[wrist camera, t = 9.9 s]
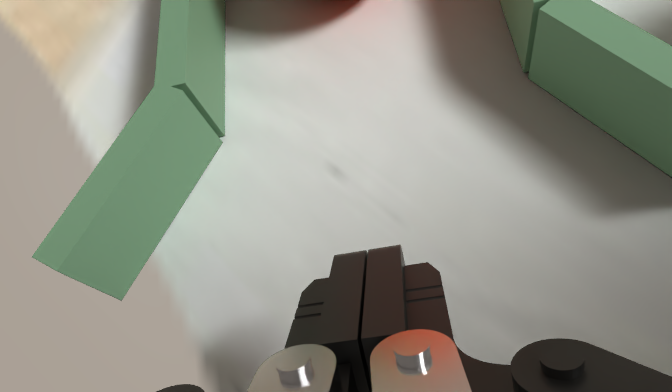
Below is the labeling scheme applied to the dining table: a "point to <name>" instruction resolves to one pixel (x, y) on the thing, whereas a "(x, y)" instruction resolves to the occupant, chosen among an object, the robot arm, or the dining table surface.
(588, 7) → the putting stall
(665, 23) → the dining table surface
